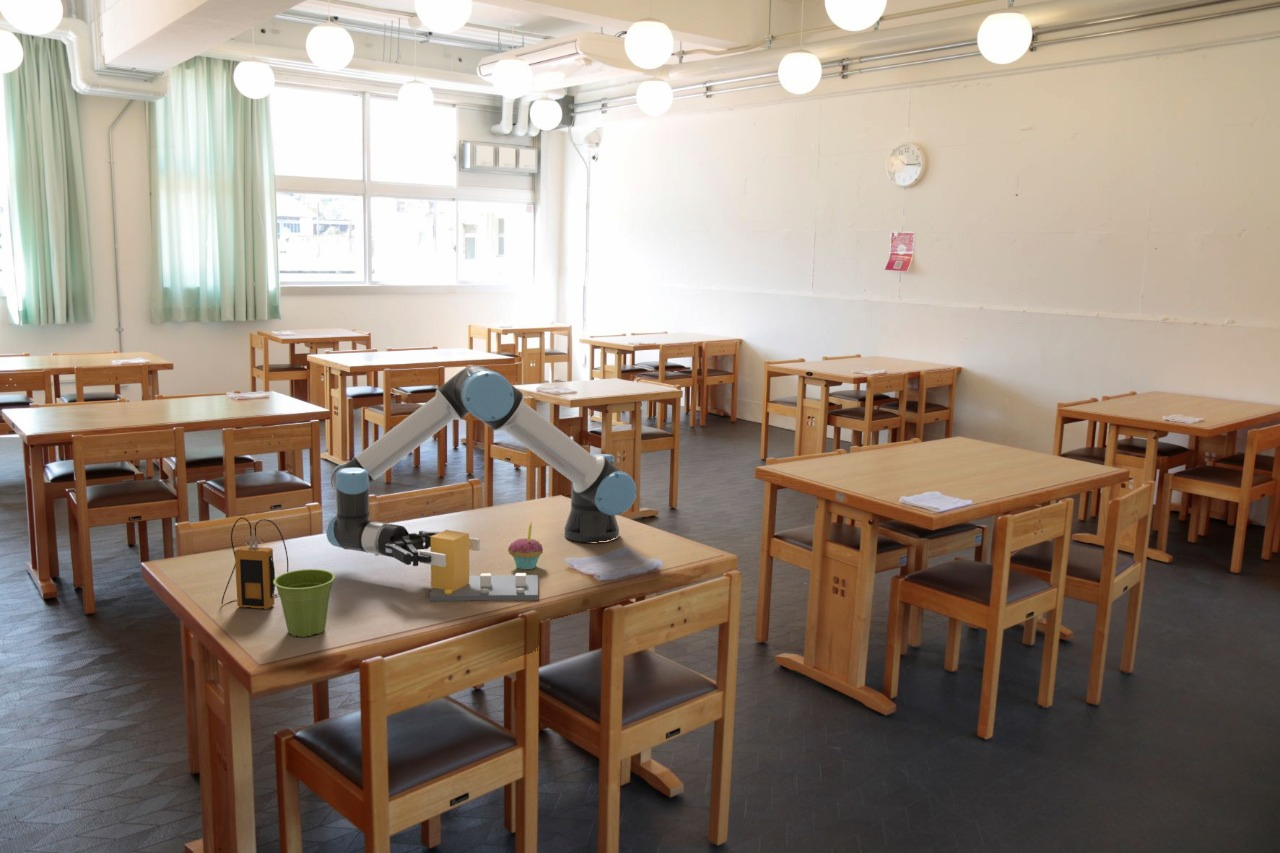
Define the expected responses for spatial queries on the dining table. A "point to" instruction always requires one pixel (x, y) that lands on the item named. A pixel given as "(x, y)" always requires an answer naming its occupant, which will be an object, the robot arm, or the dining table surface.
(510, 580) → the board
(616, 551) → the dining table surface
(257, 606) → the multimeter
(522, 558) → the cupcake
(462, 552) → the cap
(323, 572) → the plant pot
